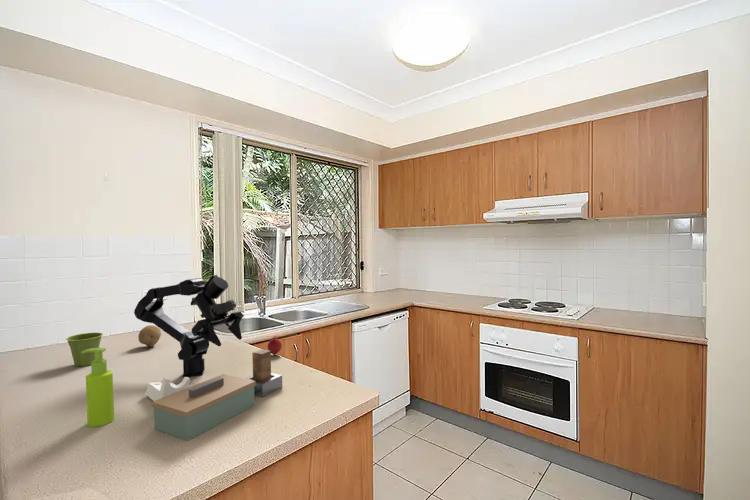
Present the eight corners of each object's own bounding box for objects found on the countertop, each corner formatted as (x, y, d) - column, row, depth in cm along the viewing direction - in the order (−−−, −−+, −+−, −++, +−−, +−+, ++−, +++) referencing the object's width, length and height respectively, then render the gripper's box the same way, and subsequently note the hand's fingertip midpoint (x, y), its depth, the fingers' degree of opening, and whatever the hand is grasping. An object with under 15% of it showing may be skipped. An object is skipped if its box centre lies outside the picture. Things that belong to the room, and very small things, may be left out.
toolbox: (152, 429, 100) (151, 394, 99) (236, 390, 124) (235, 362, 124) (187, 441, 93) (186, 404, 93) (268, 398, 118) (267, 368, 118)
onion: (278, 357, 159) (277, 338, 159) (265, 356, 160) (264, 337, 160) (284, 353, 165) (283, 334, 164) (271, 352, 166) (271, 334, 166)
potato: (153, 349, 172) (153, 327, 172) (134, 350, 172) (133, 327, 172) (165, 344, 181) (164, 323, 181) (146, 344, 181) (145, 323, 181)
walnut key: (253, 390, 124) (252, 352, 124) (262, 386, 128) (261, 349, 127) (262, 392, 122) (261, 354, 122) (271, 388, 126) (270, 350, 126)
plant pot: (59, 367, 150) (58, 338, 150) (92, 358, 161) (91, 331, 161) (79, 370, 146) (78, 341, 146) (110, 361, 157) (109, 333, 156)
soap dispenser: (92, 417, 107) (89, 346, 106) (118, 416, 108) (116, 345, 107) (78, 427, 101) (75, 352, 100) (105, 426, 102) (103, 351, 101)
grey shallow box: (241, 392, 123) (241, 379, 123) (262, 382, 131) (261, 371, 131) (262, 397, 119) (262, 384, 119) (282, 387, 127) (282, 375, 127)
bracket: (184, 404, 117) (190, 379, 118) (160, 406, 112) (166, 379, 113) (168, 393, 126) (174, 369, 127) (145, 394, 121) (151, 369, 122)
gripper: (197, 296, 126) (221, 334, 122) (240, 289, 143) (262, 322, 139) (181, 317, 130) (204, 354, 126) (224, 308, 147) (245, 341, 143)
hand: (230, 342), depth 133 cm, fingers open, 9 cm apart
